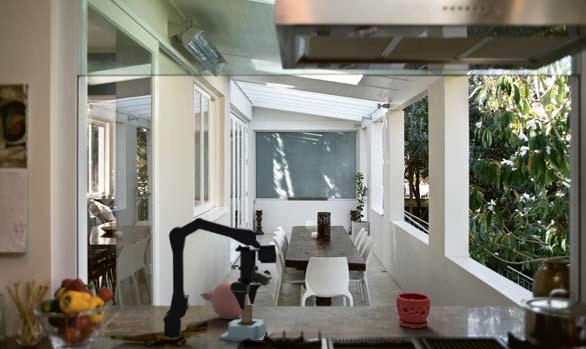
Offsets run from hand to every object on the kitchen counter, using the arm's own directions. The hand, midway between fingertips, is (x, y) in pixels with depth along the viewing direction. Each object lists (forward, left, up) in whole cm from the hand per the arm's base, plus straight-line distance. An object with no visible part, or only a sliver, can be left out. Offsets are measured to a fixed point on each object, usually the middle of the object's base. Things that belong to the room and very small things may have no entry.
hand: (247, 306), depth 185 cm
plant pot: (+35, -57, -11) cm, 68 cm away
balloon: (+22, +19, -11) cm, 31 cm away
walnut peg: (0, 0, -10) cm, 10 cm away
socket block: (0, 0, -11) cm, 11 cm away
